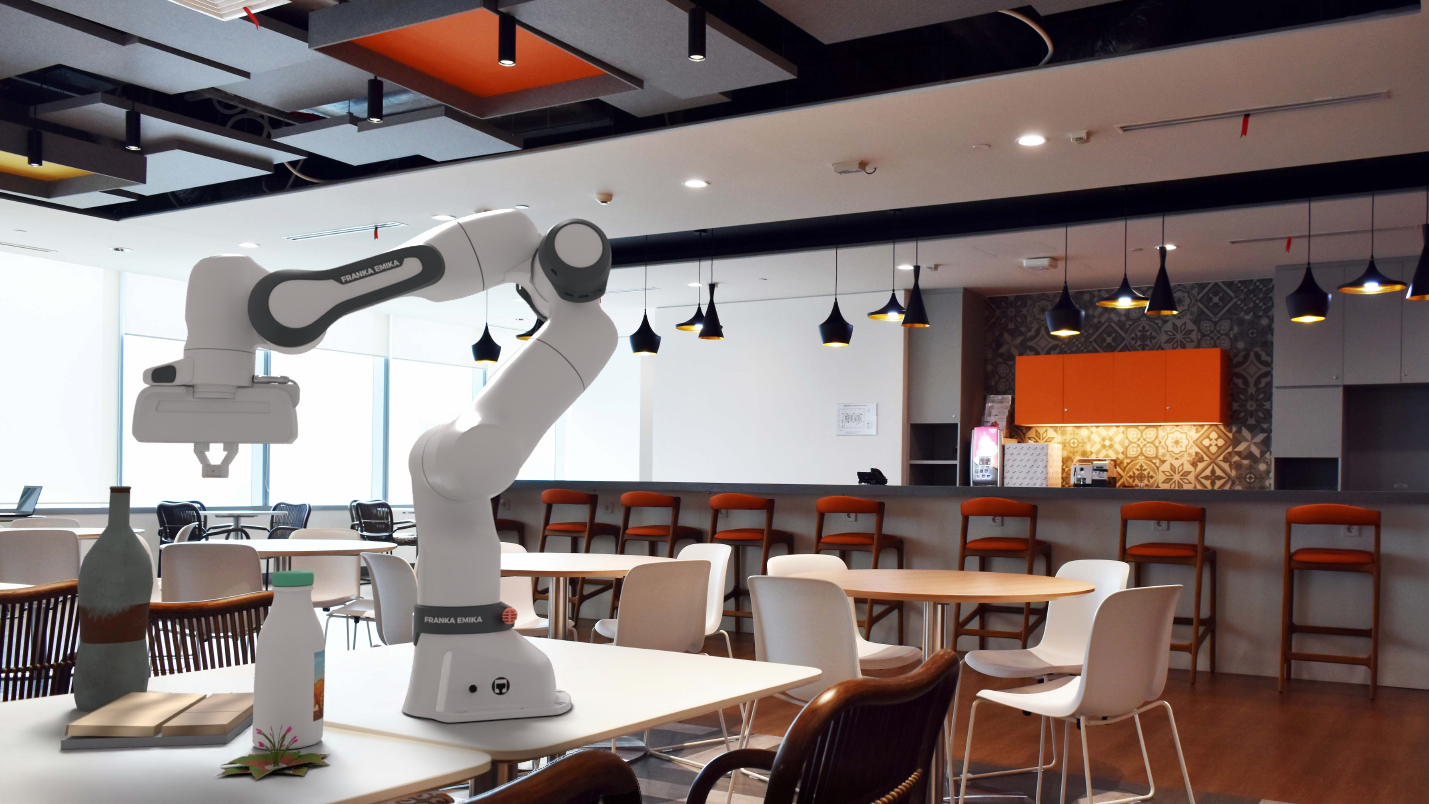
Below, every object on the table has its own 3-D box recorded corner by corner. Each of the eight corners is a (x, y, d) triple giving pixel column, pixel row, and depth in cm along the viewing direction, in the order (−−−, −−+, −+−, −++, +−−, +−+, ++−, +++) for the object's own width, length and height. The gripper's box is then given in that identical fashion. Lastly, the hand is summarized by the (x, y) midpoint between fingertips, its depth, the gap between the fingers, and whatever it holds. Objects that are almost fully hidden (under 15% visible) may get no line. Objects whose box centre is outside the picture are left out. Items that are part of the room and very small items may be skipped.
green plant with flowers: (348, 756, 121) (349, 715, 121) (314, 785, 109) (316, 739, 109) (240, 757, 120) (241, 715, 121) (194, 786, 108) (196, 740, 109)
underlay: (270, 708, 144) (270, 700, 145) (227, 743, 125) (227, 734, 125) (127, 712, 142) (128, 704, 142) (60, 749, 122) (60, 740, 122)
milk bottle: (298, 753, 120) (304, 574, 122) (237, 749, 122) (243, 573, 123) (335, 737, 128) (340, 569, 129) (277, 734, 129) (283, 568, 131)
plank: (205, 702, 143) (206, 693, 143) (153, 736, 124) (154, 726, 124) (130, 701, 142) (131, 692, 142) (64, 735, 122) (66, 724, 122)
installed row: (268, 701, 144) (268, 691, 144) (226, 734, 125) (226, 723, 125) (213, 702, 143) (213, 693, 143) (161, 736, 124) (161, 725, 124)
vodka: (54, 710, 143) (65, 486, 145) (112, 697, 152) (122, 486, 154) (108, 714, 140) (118, 486, 142) (164, 701, 149) (173, 486, 151)
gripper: (305, 378, 148) (302, 478, 147) (147, 375, 144) (143, 477, 143) (295, 373, 141) (291, 478, 140) (129, 370, 138) (124, 477, 137)
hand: (215, 477), depth 142 cm, fingers closed
